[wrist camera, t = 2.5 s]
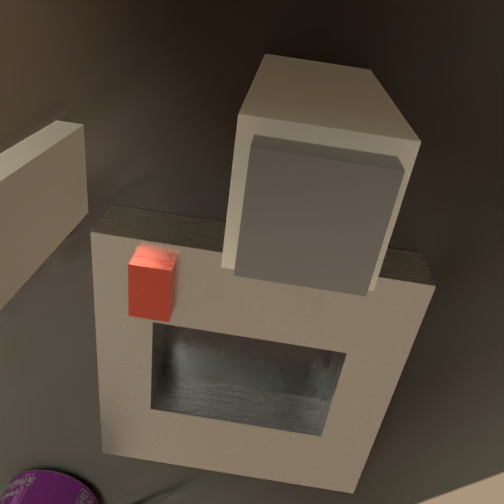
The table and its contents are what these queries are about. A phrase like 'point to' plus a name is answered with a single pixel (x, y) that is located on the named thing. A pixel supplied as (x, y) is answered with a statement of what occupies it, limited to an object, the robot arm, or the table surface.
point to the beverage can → (47, 489)
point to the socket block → (242, 355)
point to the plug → (316, 176)
